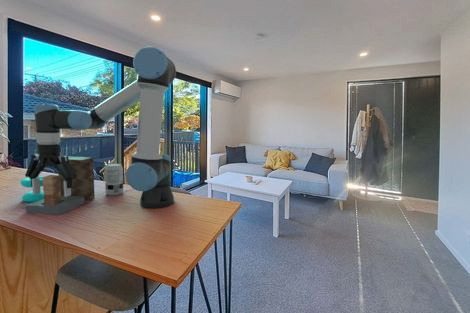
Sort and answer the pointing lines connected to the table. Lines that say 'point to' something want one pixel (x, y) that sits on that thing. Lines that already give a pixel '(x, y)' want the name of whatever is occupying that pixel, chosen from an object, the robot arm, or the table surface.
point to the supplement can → (114, 179)
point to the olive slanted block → (81, 178)
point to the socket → (55, 206)
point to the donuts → (29, 196)
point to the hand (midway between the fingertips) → (52, 194)
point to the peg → (51, 189)
